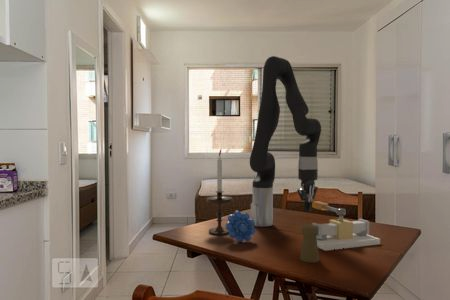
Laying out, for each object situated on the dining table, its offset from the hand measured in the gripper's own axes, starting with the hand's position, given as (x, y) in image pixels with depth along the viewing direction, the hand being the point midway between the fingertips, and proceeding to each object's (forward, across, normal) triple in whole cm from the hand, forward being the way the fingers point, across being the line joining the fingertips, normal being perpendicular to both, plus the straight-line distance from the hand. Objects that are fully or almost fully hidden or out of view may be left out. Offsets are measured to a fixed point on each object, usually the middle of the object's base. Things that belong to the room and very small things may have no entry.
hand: (307, 210), depth 141 cm
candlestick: (+10, +21, -29) cm, 37 cm away
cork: (+10, +25, +15) cm, 31 cm away
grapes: (+10, +26, -13) cm, 31 cm away
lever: (0, -4, +7) cm, 8 cm away
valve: (+10, 0, +14) cm, 17 cm away
